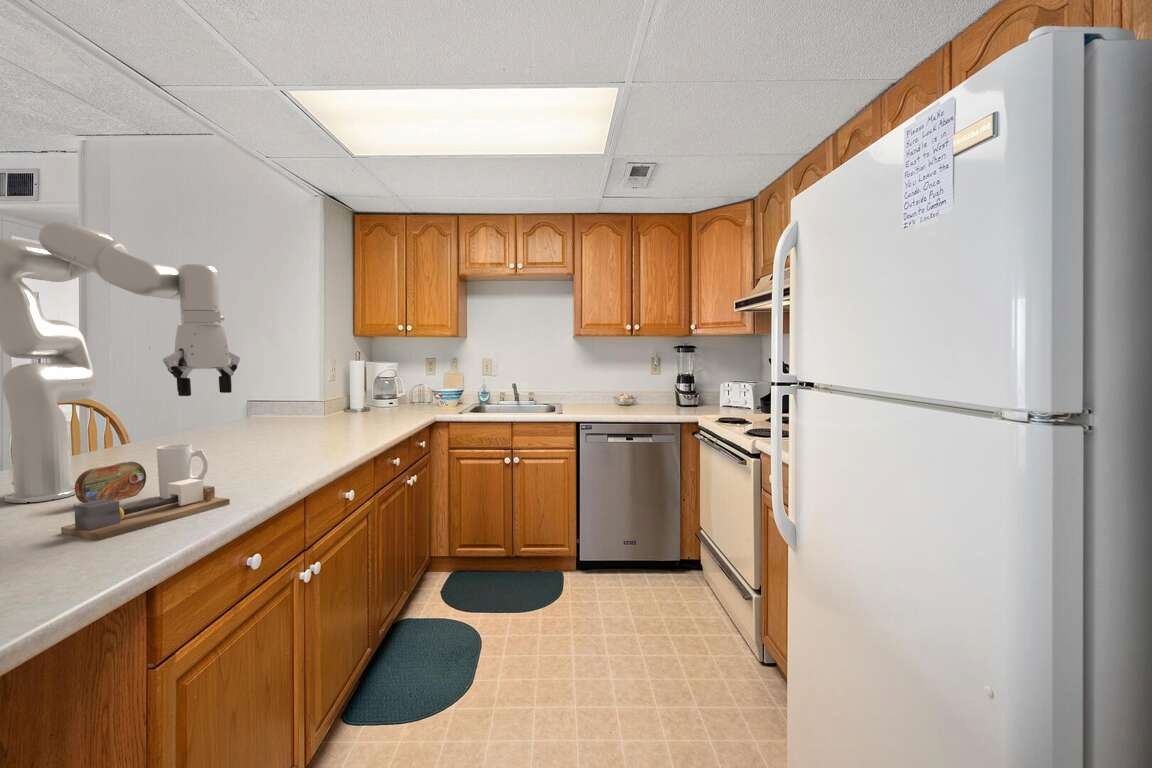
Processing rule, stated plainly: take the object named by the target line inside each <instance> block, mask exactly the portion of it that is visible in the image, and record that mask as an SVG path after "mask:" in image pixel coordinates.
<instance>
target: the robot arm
mask: <svg viewBox="0 0 1152 768" xmlns="http://www.w3.org/2000/svg"><path fill="white" fill-rule="evenodd" d="M38 240H39V243H37V242H36V243H35V242H32V241H27V240H21V239H15V238H1V237H0V348H1V350H2V352H3V353H4V354H5V355H6V356H9V357H10V358H15V359H24V360H40V359H41V360H42V359H43V360H45V359H46V360H48V359H49V362H35V363H34V362H33V363H25V364H24V363H23V364H20V365H16V366H15V367H12V368H10V369H9V370H7V372H6V373H5V374H4V376H3V378H2V382H1V385H2V386H1V387H2V392H3V394H4V398H5V400H6V404H7V407H8V412H9V413H8V414H9V419H10V420H9V421H10V422H9V423H10V437H11V452H12V454H11V455H12V457H11V458H12V471H13V473H12V474H13V481H11V485H12V486H13V492H11V493H8V494H6V495H5V496H4V501H5V502H6V503H9V502H10V504H27V502H30V503H40V502H46V501H54V500H59V499H64V498H67V497H71V496H74V495H76V493H75V485H71V482H70V478H71V477H70V459H69V458H70V457H69V454H70V453H69V438H68V437H69V436H68V435H69V434H68V421H67V418H66V416H65V414H64V412H63V411H62V409H61V408H60V407H59V404H58V403H65V402H74V401H75V402H76V401H81V400H86V399H87V398H89V397H90V396H91V395H92V394H93V393H94V392H95V389H96V386H97V379H96V374H95V370H94V366H93V362H92V359H91V356H90V353H89V349H88V344H87V341H86V339H85V337H84V334H83V333H82V332H81V330H80V328H78V327H77V326H75V325H74V324H72V323H71V322H67V321H64V320H58V319H57V320H56V319H55V320H54V319H47V318H45V316H44V314H43V311H42V308H41V303H40V301H39V299H38V298H37V296H36V294H35V292H34V291H33V290H32V289H31V288H30V287H29V286H27V284H25V283H24V281H23V280H22V279H30V280H38V281H44V282H45V281H46V282H53V283H54V282H55V283H64V282H68V281H72V280H75V279H77V278H80V277H81V276H85V275H86V274H89V273H95V274H97V275H98V276H99V277H100V279H102V281H104V282H106V283H108V284H110V285H112V286H115V287H118V288H120V289H122V290H125V291H127V292H130V293H132V294H135V295H140V296H145V297H151V298H158V299H159V298H160V299H167V300H174V301H177V300H178V301H179V303H180V304H179V305H180V319H181V322H180V323H181V324H179V325H177V327H176V333H175V337H174V339H175V340H174V352H173V353H171V354H169V355H168V356H166V357H164V358H162V362H163V363H164V365H165V367H166V368H167V371H168V372H169V373H170V374H171V375H173V378H175V379H176V387H177V388H176V389H177V393H178V395H177V396H179V397H191V395H192V388H191V385H192V384H191V378H190V377H189V375H190V373H191V372H192V371H193V370H205V369H206V370H207V369H208V370H211V369H215V370H216V371H217V372H218V373H219V374H220V375H219V376H218V389H219V393H221V394H223V393H224V394H225V393H226V394H230V393H232V389H233V388H232V385H233V384H232V377H233V376H234V374H235V373H234V372H236V370H237V369H238V365H239V363H240V359H241V358H240V356H237V355H236V354H234V353H233V352H230V351H229V345H228V339H227V335H226V331H225V327H224V326H223V325H222V322H224V321H225V317H224V315H221V302H220V286H219V272H218V270H217V268H215V267H214V266H211V265H208V264H199V263H187V264H182V265H180V266H179V267H176V266H172V265H167V264H164V263H158V262H153V261H152V262H151V261H147V260H143V259H141V258H138V257H136V256H133V255H130V254H129V251H128V249H127V248H126V247H125V245H123V244H122V243H120V241H116V240H114V239H113V238H112V237H111V236H110V235H109V234H107V233H106V232H104V231H103V230H99V229H96V228H92V227H89V226H83V225H79V224H76V223H70V222H65V221H64V222H63V221H54V222H50V223H47V224H46V225H44V226H43V227H41V229H40V230H39V232H38ZM53 499H54V500H53Z"/></svg>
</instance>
